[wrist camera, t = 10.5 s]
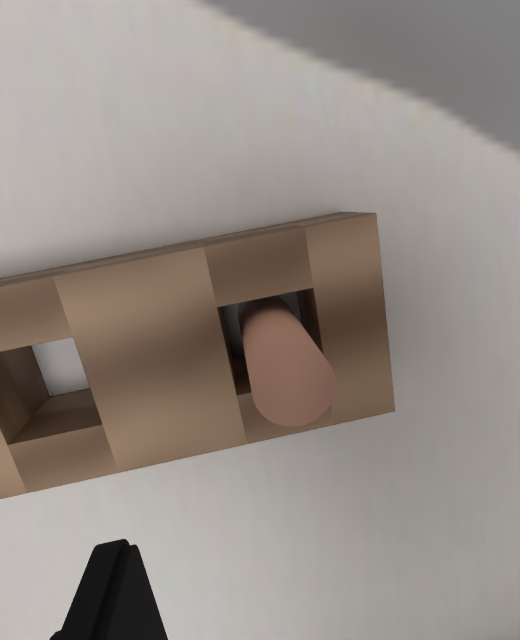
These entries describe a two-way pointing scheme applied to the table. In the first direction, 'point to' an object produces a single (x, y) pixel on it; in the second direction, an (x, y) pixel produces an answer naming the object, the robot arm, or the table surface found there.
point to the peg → (284, 364)
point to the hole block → (182, 348)
